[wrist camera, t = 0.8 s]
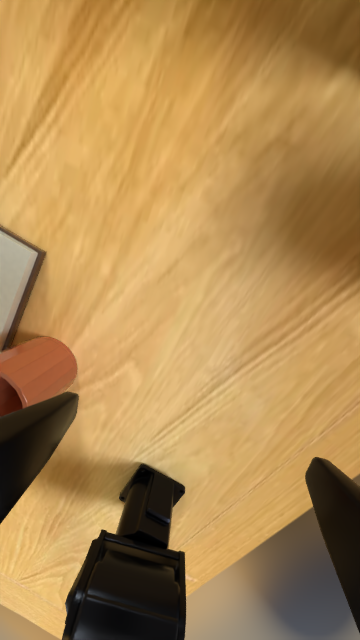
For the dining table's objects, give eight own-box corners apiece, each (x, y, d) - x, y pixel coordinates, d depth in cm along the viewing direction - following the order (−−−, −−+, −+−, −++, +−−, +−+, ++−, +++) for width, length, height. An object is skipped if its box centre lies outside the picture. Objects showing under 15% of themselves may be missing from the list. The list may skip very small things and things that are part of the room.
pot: (64, 400, 24) (12, 451, 17) (13, 372, 24) (-60, 412, 17) (86, 356, 23) (39, 392, 16) (32, 325, 22) (-41, 349, 15)
